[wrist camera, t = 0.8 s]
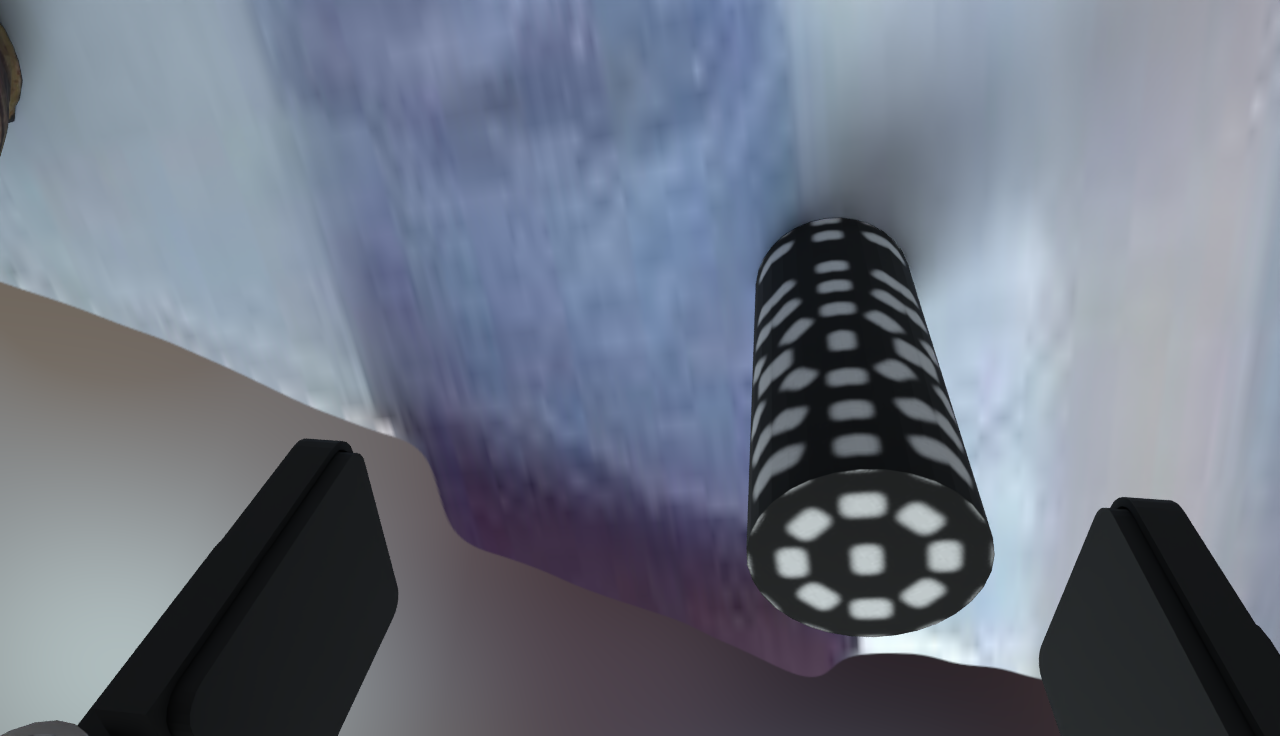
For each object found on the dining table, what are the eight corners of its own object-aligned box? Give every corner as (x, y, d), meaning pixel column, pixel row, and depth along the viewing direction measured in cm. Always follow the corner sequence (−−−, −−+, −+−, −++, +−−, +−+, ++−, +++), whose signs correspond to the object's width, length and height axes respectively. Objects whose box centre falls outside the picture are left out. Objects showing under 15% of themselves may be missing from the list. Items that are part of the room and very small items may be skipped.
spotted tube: (746, 229, 43) (730, 478, 26) (907, 206, 41) (998, 459, 25) (765, 357, 47) (762, 639, 31) (912, 342, 45) (991, 634, 29)
